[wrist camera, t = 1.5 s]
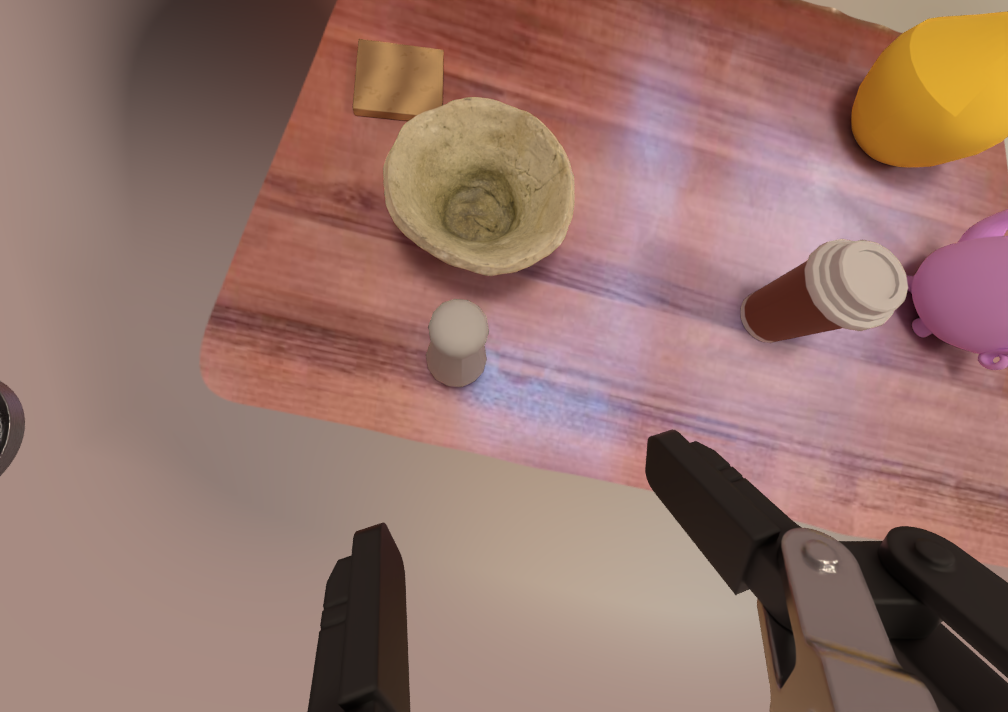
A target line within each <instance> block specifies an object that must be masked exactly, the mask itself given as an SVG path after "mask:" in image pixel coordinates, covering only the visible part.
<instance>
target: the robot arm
mask: <svg viewBox="0 0 1008 712" xmlns="http://www.w3.org/2000/svg"><path fill="white" fill-rule="evenodd" d="M645 472H646V477H647V480H648V483H649V485H650V487H651V488H652V490H653V491H654V492H655V494H656V495H657V496H658V498H659V499H660V500H661V501H662V503H663V504H664V505H665V506H666V508H667V509H668V510H669V511H670V513H671V514H672V515H673V516H674V518H675V519H676V520H677V521H678V523H679V524H680V525H681V527H682V528H683V529H684V530H685V532H687V534H688V535H689V537H690V538H691V539H692V540H693V542H694V543H695V544H696V545H697V547H698V548H699V549H700V551H701V552H702V553H703V554H704V556H705V557H706V558H707V559H708V561H709V562H710V563H711V565H712V566H713V567H714V568H715V569H716V571H717V572H718V573H719V574H720V576H721V577H722V578H723V580H724V581H725V582H726V583H727V585H728V586H729V587H730V589H731V590H732V591H733V592H734V594H735V595H737V594H739V593H742V592H744V591H746V590H749V589H750V590H751V591H752V592H753V593H754V595H755V596H756V597H757V598H758V600H757V608H758V614H759V621H760V627H761V632H762V639H763V645H764V652H765V658H766V664H767V671H768V677H769V683H770V692H771V703H770V712H1008V683H1007V682H1006V681H1005V680H1004V679H1003V678H1002V677H1000V676H999V675H998V674H997V673H996V672H995V671H994V670H993V669H992V668H990V667H989V666H988V665H987V664H986V663H985V662H984V661H982V659H980V658H979V657H978V656H977V655H976V654H975V653H973V651H971V650H970V649H969V648H968V647H967V646H966V645H965V644H964V643H962V642H961V641H960V640H959V639H958V638H957V637H956V636H955V635H954V634H952V633H951V632H950V631H949V630H948V629H947V628H945V626H943V625H942V624H941V622H942V621H944V622H945V623H946V624H947V625H948V626H950V627H951V628H952V629H953V630H954V631H955V632H956V633H957V634H959V635H960V636H961V637H962V638H963V639H964V640H965V641H966V642H968V643H969V644H970V645H971V646H972V647H973V648H974V649H976V650H977V651H978V652H979V653H980V654H981V655H982V656H983V657H985V658H986V659H987V660H988V661H989V662H990V663H991V664H992V665H994V666H995V667H996V668H997V669H998V670H999V671H1000V672H1002V673H1003V674H1004V675H1005V676H1006V677H1007V678H1008V583H1007V582H1006V581H1005V580H1003V579H1002V578H1000V577H999V576H998V575H996V574H995V573H993V572H992V571H991V570H989V569H988V568H987V567H985V566H984V565H983V564H981V563H980V562H978V561H977V560H976V559H974V558H973V557H972V556H970V555H969V554H967V553H966V552H965V551H963V550H962V549H961V548H959V547H958V546H956V545H955V544H953V543H952V542H950V541H949V540H947V539H945V538H943V537H941V536H939V535H937V534H935V533H932V532H930V531H927V530H924V529H920V528H915V527H908V526H901V527H896V528H893V529H891V530H890V531H889V532H888V534H887V536H886V537H885V539H884V540H883V541H837V540H836V539H834V538H832V537H831V536H829V535H827V534H825V533H822V532H820V531H817V530H813V529H808V528H802V527H800V526H799V525H797V524H796V523H795V522H794V521H792V520H791V519H790V518H789V517H788V516H787V515H786V514H784V513H783V512H782V511H781V510H780V509H779V508H778V507H777V506H776V505H774V504H773V503H772V502H771V501H770V500H769V499H768V498H767V497H766V496H764V495H763V494H762V493H761V492H760V491H759V490H758V489H757V488H756V487H755V486H753V485H752V484H751V483H750V482H749V481H748V480H747V479H746V478H743V477H742V475H741V474H740V473H739V472H738V471H737V470H736V469H735V468H733V467H731V466H730V464H729V463H728V462H727V461H726V460H725V459H723V458H722V457H721V456H720V455H719V454H718V453H717V452H716V451H714V450H712V449H711V448H709V447H707V446H705V445H703V444H701V443H699V442H697V441H695V442H692V443H689V442H688V441H687V440H686V439H685V438H684V437H683V436H682V435H681V434H680V433H679V432H677V431H676V430H669V431H666V432H663V433H660V434H657V435H654V436H651V437H649V438H648V443H647V456H646V468H645ZM323 607H324V611H322V618H321V625H320V626H321V631H320V632H319V638H318V645H317V652H316V658H315V665H314V673H313V679H312V685H311V692H310V699H309V706H308V712H410V692H409V665H408V640H407V615H406V614H407V613H406V586H405V570H404V565H403V560H402V557H401V554H400V552H399V550H398V548H397V546H396V544H395V541H394V539H393V538H392V536H391V534H390V532H389V529H388V527H387V525H386V524H385V523H381V524H377V525H374V526H371V527H368V528H365V529H362V530H359V531H356V532H355V534H354V538H353V546H352V556H349V557H346V558H343V559H340V560H338V561H337V563H336V565H335V567H334V569H333V571H332V573H331V575H330V577H329V579H328V581H327V584H326V591H325V598H324V604H323Z"/></svg>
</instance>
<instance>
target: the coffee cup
mask: <svg viewBox="0 0 1008 712" xmlns="http://www.w3.org/2000/svg"><path fill="white" fill-rule="evenodd" d="M907 290H908V284H907V277H906V273H905V271H904V269H903V267H902V265H901V263H900V261H899V260H898V259H897V258H896V257H895V256H894V255H893V254H892V253H891V252H890V251H889V250H888V249H886V248H885V247H883V246H881V245H880V244H878V243H875V242H870V241H866V240H859V241H850V240H845V239H839V240H835V241H830V242H826V243H824V244H822V245H820V246H819V247H818V248H817V249H816V250H815V251H813V252H812V253H811V254H810V255H809V258H808V261H806V262H804V263H803V264H801V265H799V266H798V267H796V268H794V269H793V270H791V271H789V272H788V273H786V274H784V275H783V276H781V277H779V278H778V279H776V280H774V281H773V282H771V283H769V284H768V285H766V286H764V287H763V288H761V289H759V290H758V291H756V292H754V293H752V294H750V295H749V296H748V297H747V298H746V299H744V300H743V303H742V306H741V308H740V311H741V320H742V322H743V325H744V327H745V329H746V330H747V331H748V332H749V333H750V335H751V336H752V337H754V338H756V339H757V340H759V341H761V342H767V343H773V342H776V341H781V340H786V339H791V338H796V337H801V336H806V335H811V334H816V333H821V332H826V331H831V330H836V329H841V328H844V329H850V330H856V331H863V330H867V329H870V328H874V327H877V326H881V325H883V324H884V323H885V322H886V321H887V320H888V319H889V317H890V316H891V315H892V314H893V312H894V310H896V309H897V308H898V307H899V306H900V305H901V304H902V303H903V302H904V301H905V298H906V294H907Z"/></svg>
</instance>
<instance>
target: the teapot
mask: <svg viewBox="0 0 1008 712" xmlns="http://www.w3.org/2000/svg"><path fill="white" fill-rule="evenodd" d="M1007 230H1008V209H1006V210H1004V211H1001V212H999V213H996V214H994V215H992V216H989V217H987V218H985V219H983V220H981V221H979V222H977V223H976V224H975V225H973V226H972V227H970V228H969V229H968V230H967V231H966V232H965V233H964V234H963V235H962V237H961V238H960V240H959V241H958V243H954V244H950V245H947V246H945V247H942V248H939V249H937V250H936V251H934V252H933V253H931V254H930V255H929V256H928V257H927V258H926V259H925V260H924V261H923V263H922V264H921V266H920V267H919V269H918V270H917V272H916V274H915V276H906V277H907V284H908V290H907V291H909V292H911V293H912V297H913V302H914V306H915V308H916V311H917V313H918V315H919V317H920V318H918V319H915V320H914V321H913V323H912V328H913V330H914V332H915V333H916V334H917V335H918V336H920V337H927V336H928V335H930V334H932V333H933V334H934V335H935V336H936V337H938V338H939V339H940V340H942V341H944V342H946V343H948V344H950V345H953V346H955V347H958V348H960V349H963V350H967V351H970V352H973V353H979V356H978V361H979V363H980V364H981V365H982V366H983V367H985V368H987V369H990V370H1000V369H1004V368H1006V367H1008V236H1003V235H1004V234H1005V232H1006V231H1007ZM998 356H999V357H1000V361H999V362H997V363H994V362H993V359H994V358H995V357H998Z"/></svg>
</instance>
